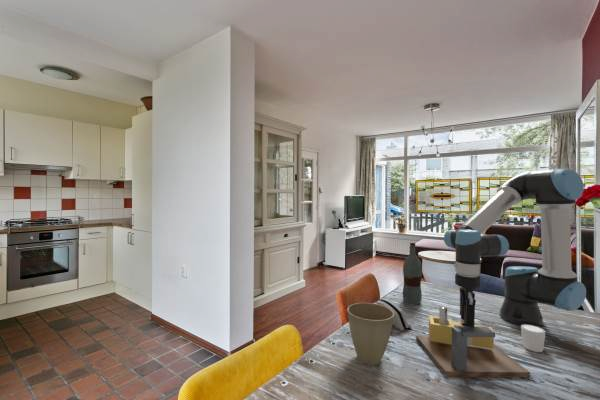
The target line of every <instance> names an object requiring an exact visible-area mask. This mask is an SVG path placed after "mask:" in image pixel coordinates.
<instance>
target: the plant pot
mask: <svg viewBox="0 0 600 400" xmlns="http://www.w3.org/2000/svg"><path fill="white" fill-rule="evenodd" d="M347 318H348V325H349V330H350V336H351V340H352V342H353V343H352V344H353V347H354V350H355V354H356V356H357V359H358V360H359V362H361V363H362V364H365V365H368V366H376V365H379V364H380V363H381V361H382V359H383V357H384V355H385V352H386V349H387V346H388V343H389V340H390V336H391V332H392V329H393V318H394V313H393V311H392V310H391V309H389V308H387V307H385V306H382V305H378V304H376V303H372V302H357V303H353V304H350V305H348V307H347Z"/></svg>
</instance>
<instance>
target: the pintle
mask: <svg viewBox="0 0 600 400" xmlns="http://www.w3.org/2000/svg"><path fill="white" fill-rule="evenodd" d="M438 317H439V324H443V325H447V318H448V307H446V306H439V315H438ZM441 344H445V343H441Z"/></svg>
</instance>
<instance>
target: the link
mask: <svg viewBox="0 0 600 400" xmlns="http://www.w3.org/2000/svg"><path fill="white" fill-rule="evenodd" d="M474 325H475V326H481V327H488V328H489V329H491V330H492V331H494V329H493V327H491V326H485V325H479V324H474ZM456 326H463V325H462V323H461V321H460V322H459V321H453V320H452V318H448V317H447V325H443V324H439V316H432V315H429V316H428V336H429V337H430V341H434V342H439V343H445V344H451V345H452V327H456ZM494 340H495V337H472V345H473V346H479V347H485V348H490V349H493V345H495V344H494Z"/></svg>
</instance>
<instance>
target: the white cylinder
mask: <svg viewBox="0 0 600 400" xmlns="http://www.w3.org/2000/svg"><path fill="white" fill-rule="evenodd" d="M520 330H521V333H520V334H521V343H522V344H521V345H522V346H523V348H524V349H525V350H526V349H527V350H529V351H531V352H535V353H542V352H543V351H544V345H545V339H546V332H547V331H546V330H545V329H544V328H542V327H541V326H538V327H537V326H533V325H526V324H524V325H520Z"/></svg>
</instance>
